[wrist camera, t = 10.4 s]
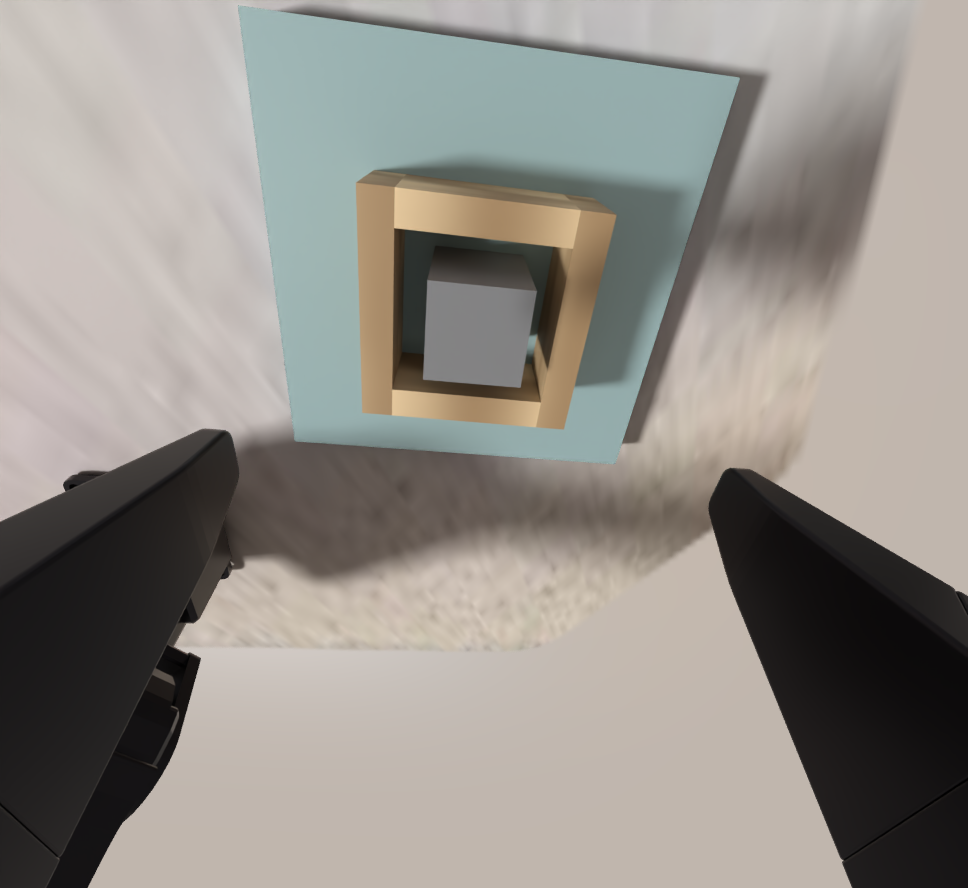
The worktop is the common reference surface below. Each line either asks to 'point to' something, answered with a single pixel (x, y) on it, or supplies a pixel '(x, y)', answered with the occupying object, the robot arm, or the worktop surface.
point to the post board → (460, 259)
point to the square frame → (490, 215)
